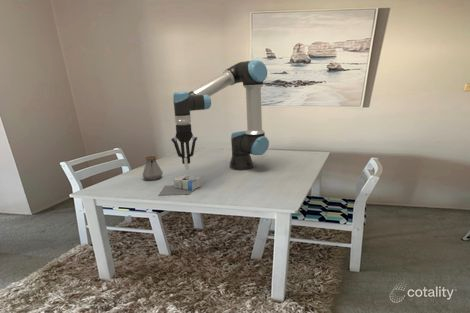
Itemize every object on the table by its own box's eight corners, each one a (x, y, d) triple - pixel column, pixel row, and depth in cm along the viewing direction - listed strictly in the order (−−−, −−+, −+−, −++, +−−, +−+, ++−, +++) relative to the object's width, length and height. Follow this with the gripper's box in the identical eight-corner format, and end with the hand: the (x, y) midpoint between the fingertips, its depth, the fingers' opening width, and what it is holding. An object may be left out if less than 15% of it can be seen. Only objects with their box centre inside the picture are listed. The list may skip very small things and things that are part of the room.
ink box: (191, 181, 153) (173, 179, 158) (192, 190, 154) (174, 188, 159) (201, 176, 160) (183, 174, 165) (201, 185, 161) (183, 183, 167)
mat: (194, 185, 163) (194, 184, 163) (190, 194, 150) (190, 193, 150) (165, 186, 164) (164, 185, 164) (158, 195, 150) (158, 195, 150)
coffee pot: (142, 177, 182) (139, 152, 178) (162, 174, 185) (159, 150, 182) (143, 188, 162) (140, 161, 158) (165, 185, 165) (162, 158, 162)
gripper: (168, 125, 145) (172, 172, 151) (195, 124, 145) (198, 171, 150) (171, 123, 152) (175, 168, 158) (197, 122, 152) (200, 167, 158)
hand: (186, 169), depth 154 cm, fingers closed
